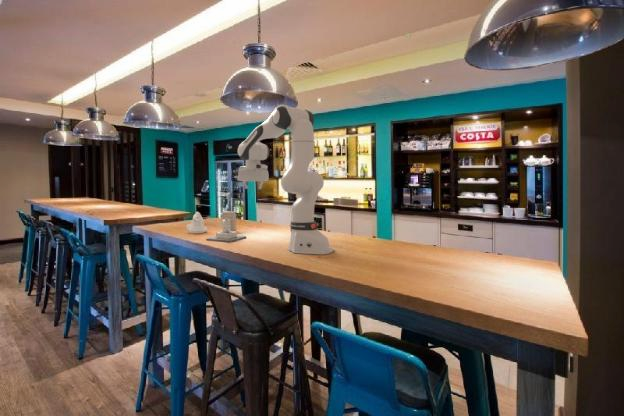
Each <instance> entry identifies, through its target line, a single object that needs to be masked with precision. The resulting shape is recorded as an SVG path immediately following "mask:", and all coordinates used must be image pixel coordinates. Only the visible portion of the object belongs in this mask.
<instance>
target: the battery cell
mask: <svg viewBox="0 0 624 416" xmlns="http://www.w3.org/2000/svg"><path fill="white" fill-rule="evenodd" d="M221 222H222V223H221V226H222V227H223V233H230V220H228V219H225V220H222V219H221ZM222 227H221V228H222Z"/></svg>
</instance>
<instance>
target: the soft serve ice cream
mask: <svg viewBox="0 0 624 416" xmlns="http://www.w3.org/2000/svg"><path fill="white" fill-rule="evenodd" d="M186 229H187V231H188V233H189V234H204V233H206V232H208V228H207V226H206V225H205V222H204V217H202V214H201V213H200V212H199V211H195V213H194V214H193V215H192V219H191V221H190V223H188V224H186Z"/></svg>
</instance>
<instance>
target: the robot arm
mask: <svg viewBox="0 0 624 416" xmlns="http://www.w3.org/2000/svg"><path fill="white" fill-rule="evenodd" d="M314 124H315V117H314V114H313V113H312V112H311V111H310V110H307V109H301V108H298V107H293V106H292V107H291V106H289V105H288V104H287V105H286V104H280V105H278V106H276V107H275V108H274V109H273V111H272V112H271V113H270V116H268V118H267V119H265V121H264V122H262V123H261V124H260V125H257V126H256V127H255V128H254V129H253V130H252V131H251V133H250V134H249V135H248V137H246V139H245V140H244V141H241V143H240V144H239V145H238V146H237V156H238V157H239V158H240V160H242V161H245V166H243V165H242V166H239V167H238V173H237V180H238V182H242V184H243V185H244V189H245V190H247V189H249V185H247V183H248V182H259V185H258V186H257V189H258V190H262V188H263V185H264V182H268V181H269V178H270V177H269V176H270V175H269V171H268V165H266V164H264V163H261V161H264V160H267V159H268V158H269V156H270V149H269V147H268V145H267V144H264V143H262V142H261V141H263V140H266V139H276V138H279V137H281V136H283V134H284V133H285V132H286V131H287V130H289V131H290V133H291V148H290V149H291V150H290V151H291V155H290V161H289V166H288V168H287V170H286V172H284V174H282V177H281V179H280V185H281V188H282V190H283V191H284V192H286V193H289V194H293V195H296V194H297V197H296V200H295V201H294V202H293V204H292V205H291V221H290V239H289V245H288V248H287V250H288V251H290V252H292V254H303V255H305V254H307V255H328V254H331V253H332V252H334V248H333V247H331V246H330V242H329V239H328V237H327V236H326V235H324V234H323V233H322V232H321V231H320V230H319V229H318V226H319V223H318V222H316V221H315V220H314V219H315V206H316V205H315V204H316V202H317V201H316V200H317V197H318V195H319V192H320V191H321V190H322V189H323V186H324V181H325V180H324V178H323V175H321V174H320V173H319V172H315V171H311V170H309V167H310V164H311V163H312V162H313V161H314V159H315V133H314V132H315V131H314Z"/></svg>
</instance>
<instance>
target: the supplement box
mask: <svg viewBox="0 0 624 416" xmlns="http://www.w3.org/2000/svg"><path fill="white" fill-rule="evenodd" d="M225 219H228V220H230V231H235V232H237V212H236V211H235V210H234V211H225V210H224V211H222V212H221V221H222V220H225ZM221 228H222V229H221V231H223V227H221Z"/></svg>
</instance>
